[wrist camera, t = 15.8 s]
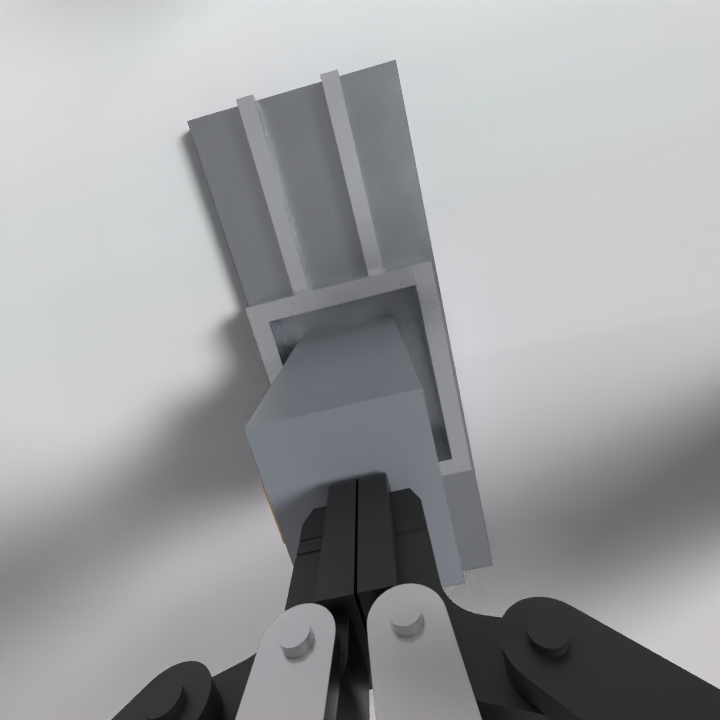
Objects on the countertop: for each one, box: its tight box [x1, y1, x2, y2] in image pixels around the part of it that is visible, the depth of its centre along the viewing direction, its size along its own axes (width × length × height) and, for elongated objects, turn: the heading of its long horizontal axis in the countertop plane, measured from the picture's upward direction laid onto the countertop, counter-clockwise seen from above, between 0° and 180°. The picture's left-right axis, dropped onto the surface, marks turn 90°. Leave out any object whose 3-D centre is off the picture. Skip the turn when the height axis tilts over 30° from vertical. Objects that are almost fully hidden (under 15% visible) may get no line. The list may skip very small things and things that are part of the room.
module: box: [243, 315, 465, 587], centre depth 15 cm, size 6×5×10 cm
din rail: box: [187, 60, 493, 571], centre depth 19 cm, size 26×9×3 cm, turn 14°
